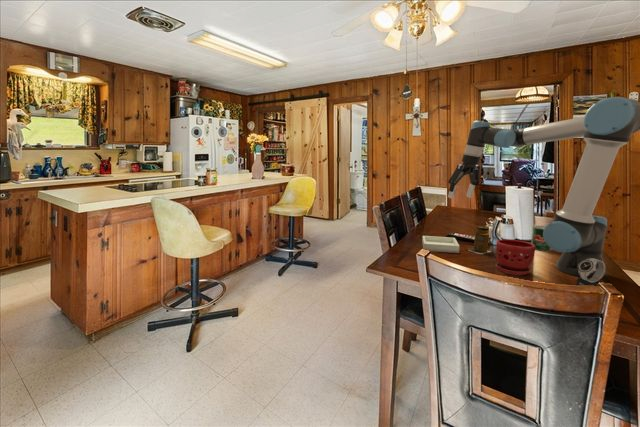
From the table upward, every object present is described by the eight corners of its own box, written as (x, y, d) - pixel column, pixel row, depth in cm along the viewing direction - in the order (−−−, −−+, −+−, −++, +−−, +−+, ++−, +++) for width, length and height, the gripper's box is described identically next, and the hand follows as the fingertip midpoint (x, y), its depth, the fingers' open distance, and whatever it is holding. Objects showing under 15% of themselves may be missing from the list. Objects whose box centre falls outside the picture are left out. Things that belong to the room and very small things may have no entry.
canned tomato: (543, 246, 160) (546, 225, 158) (553, 251, 153) (556, 229, 151) (527, 246, 161) (529, 225, 159) (536, 251, 153) (538, 229, 151)
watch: (571, 287, 111) (575, 257, 109) (591, 285, 113) (596, 256, 111) (586, 293, 106) (591, 262, 104) (607, 292, 107) (612, 261, 105)
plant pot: (538, 278, 119) (542, 247, 117) (500, 276, 122) (504, 246, 119) (522, 266, 132) (526, 238, 130) (489, 264, 134) (491, 237, 132)
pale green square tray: (458, 253, 150) (459, 246, 149) (423, 250, 154) (424, 243, 154) (454, 244, 165) (454, 237, 165) (422, 242, 169) (422, 235, 169)
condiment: (491, 251, 153) (493, 227, 150) (481, 254, 148) (484, 229, 146) (476, 248, 159) (479, 224, 156) (467, 250, 154) (469, 226, 152)
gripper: (481, 154, 158) (469, 194, 165) (447, 152, 146) (436, 195, 153) (495, 157, 152) (482, 199, 159) (461, 155, 140) (448, 200, 147)
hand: (459, 197), depth 156 cm, fingers open, 13 cm apart
